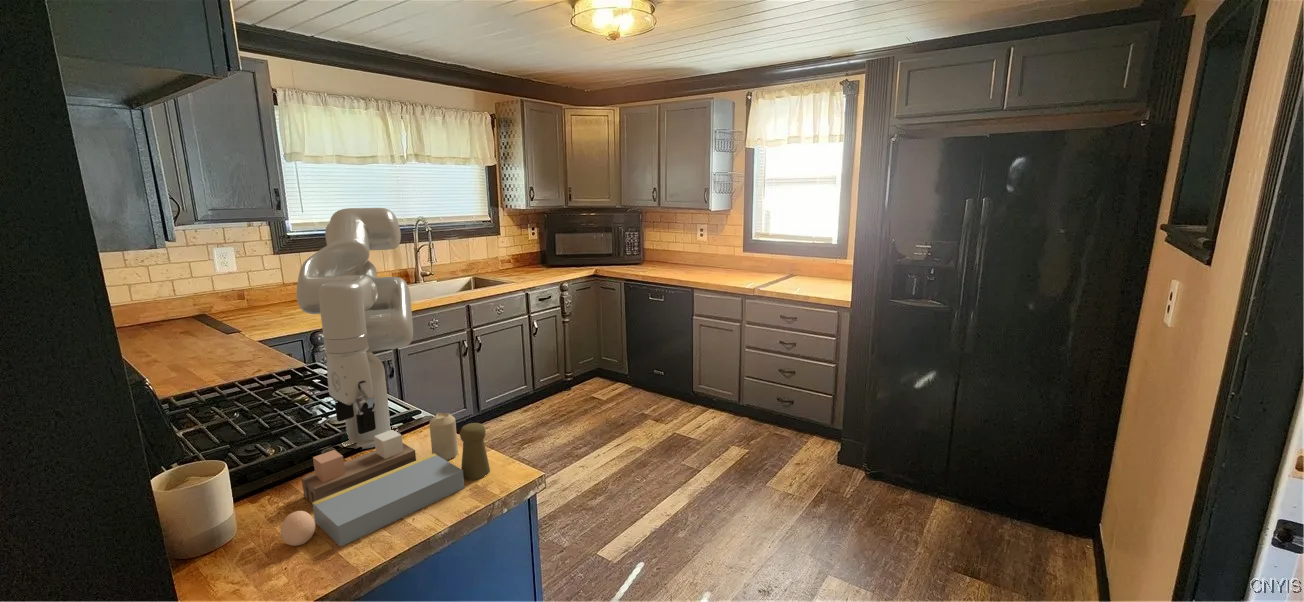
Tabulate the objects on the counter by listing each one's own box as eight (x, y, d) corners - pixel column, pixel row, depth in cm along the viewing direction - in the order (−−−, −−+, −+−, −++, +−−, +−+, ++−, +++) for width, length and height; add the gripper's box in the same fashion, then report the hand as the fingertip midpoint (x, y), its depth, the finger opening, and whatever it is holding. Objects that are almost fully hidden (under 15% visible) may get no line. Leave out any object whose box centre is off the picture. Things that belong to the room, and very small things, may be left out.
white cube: (376, 453, 119) (374, 436, 118) (394, 446, 122) (392, 429, 121) (384, 459, 116) (383, 441, 115) (403, 451, 119) (401, 434, 118)
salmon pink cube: (315, 475, 110) (312, 457, 109) (336, 467, 113) (334, 449, 112) (323, 482, 107) (321, 463, 106) (345, 474, 110) (342, 455, 109)
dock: (315, 522, 102) (312, 502, 101) (435, 470, 120) (434, 453, 119) (340, 546, 95) (337, 526, 94) (464, 487, 113) (462, 470, 112)
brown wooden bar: (304, 498, 110) (301, 477, 109) (402, 459, 125) (400, 441, 124) (317, 510, 106) (314, 489, 105) (416, 468, 121) (415, 450, 120)
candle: (428, 455, 126) (424, 414, 124) (450, 447, 130) (447, 407, 128) (439, 463, 123) (436, 422, 121) (462, 455, 127) (459, 414, 124)
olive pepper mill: (472, 483, 115) (468, 434, 113) (455, 473, 119) (451, 426, 116) (496, 471, 120) (493, 424, 117) (479, 462, 123) (475, 417, 121)
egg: (310, 530, 100) (306, 500, 98) (321, 541, 96) (317, 511, 95) (278, 544, 96) (273, 513, 94) (289, 556, 93) (284, 525, 91)
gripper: (308, 340, 111) (318, 420, 115) (345, 356, 100) (355, 443, 104) (347, 333, 117) (356, 409, 120) (386, 347, 106) (395, 430, 110)
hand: (356, 425), depth 112 cm, fingers open, 9 cm apart
